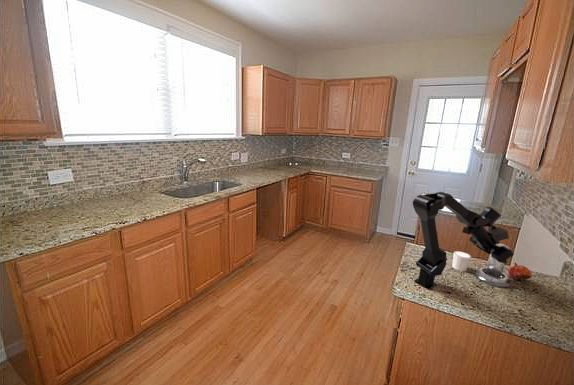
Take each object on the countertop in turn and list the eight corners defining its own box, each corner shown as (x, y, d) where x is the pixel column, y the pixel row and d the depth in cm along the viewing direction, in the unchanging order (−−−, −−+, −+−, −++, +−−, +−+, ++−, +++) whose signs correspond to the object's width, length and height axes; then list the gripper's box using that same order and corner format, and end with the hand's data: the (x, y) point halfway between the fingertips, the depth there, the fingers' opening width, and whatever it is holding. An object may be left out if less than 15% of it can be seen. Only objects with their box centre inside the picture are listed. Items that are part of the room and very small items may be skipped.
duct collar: (502, 290, 106) (504, 284, 105) (469, 275, 116) (471, 269, 115) (514, 282, 112) (516, 276, 111) (482, 269, 122) (484, 263, 121)
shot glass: (451, 262, 127) (454, 249, 125) (468, 267, 123) (472, 254, 121) (449, 268, 122) (452, 254, 120) (467, 273, 118) (470, 259, 116)
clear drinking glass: (498, 278, 109) (506, 249, 106) (483, 271, 114) (490, 244, 111) (503, 274, 112) (511, 247, 109) (488, 268, 117) (496, 241, 114)
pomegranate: (531, 289, 112) (524, 267, 117) (538, 283, 106) (531, 260, 112) (509, 286, 114) (504, 265, 120) (515, 280, 109) (509, 258, 115)
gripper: (515, 231, 98) (537, 259, 101) (482, 214, 116) (501, 239, 119) (489, 248, 101) (510, 276, 103) (460, 229, 119) (479, 253, 121)
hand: (500, 259), depth 111 cm, fingers closed on clear drinking glass, 6 cm apart
